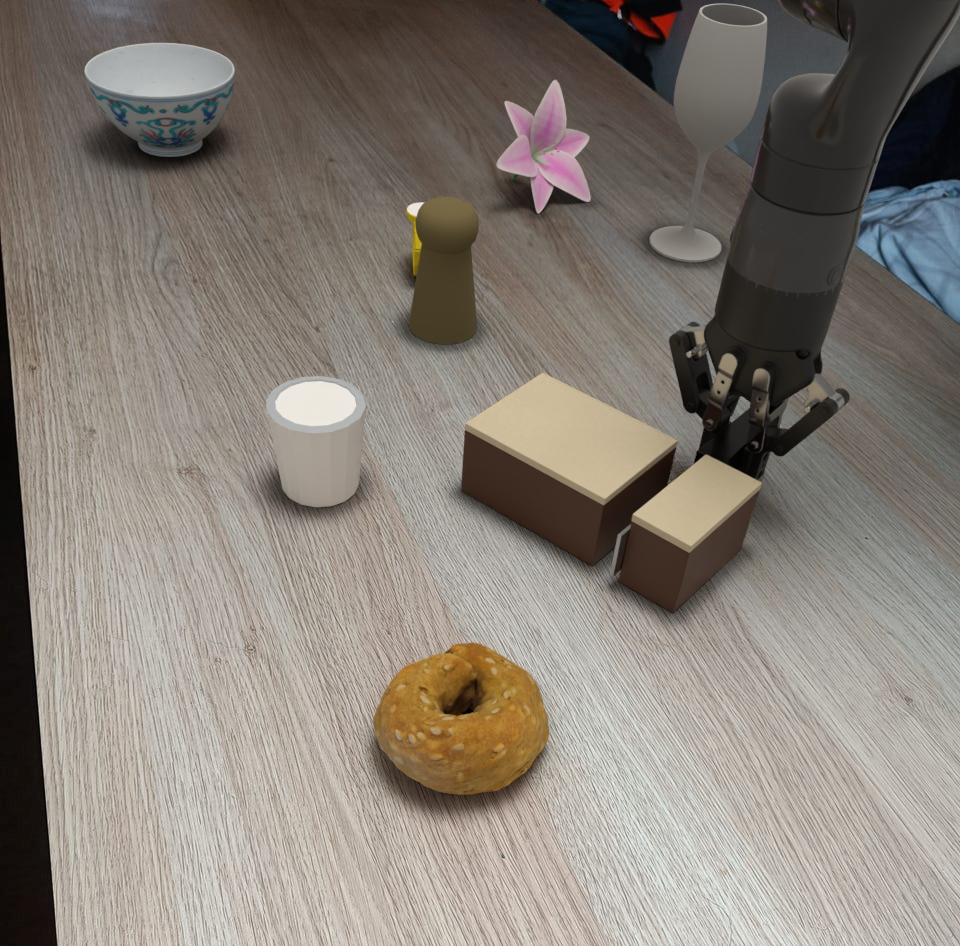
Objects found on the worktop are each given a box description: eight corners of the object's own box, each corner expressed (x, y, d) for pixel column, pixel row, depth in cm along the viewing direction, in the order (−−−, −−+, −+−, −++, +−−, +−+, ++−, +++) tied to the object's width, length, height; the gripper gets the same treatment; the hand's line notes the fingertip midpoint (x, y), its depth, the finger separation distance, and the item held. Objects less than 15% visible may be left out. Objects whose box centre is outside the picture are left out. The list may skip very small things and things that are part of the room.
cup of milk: (253, 479, 81) (244, 398, 76) (327, 443, 84) (323, 363, 79) (312, 525, 78) (307, 444, 72) (386, 486, 81) (386, 406, 76)
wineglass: (683, 220, 114) (729, -5, 99) (738, 250, 110) (795, 21, 95) (631, 239, 111) (671, 8, 95) (687, 270, 107) (737, 35, 92)
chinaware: (215, 182, 114) (206, 104, 108) (75, 163, 114) (59, 85, 109) (258, 126, 124) (252, 52, 118) (130, 109, 125) (118, 35, 119)
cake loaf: (534, 438, 86) (542, 372, 82) (662, 506, 81) (678, 439, 77) (460, 490, 81) (464, 422, 77) (592, 566, 76) (605, 498, 72)
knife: (739, 452, 86) (753, 404, 82) (764, 464, 85) (779, 416, 82) (597, 572, 75) (606, 522, 72) (623, 587, 74) (634, 538, 71)
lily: (472, 221, 113) (515, 154, 105) (462, 132, 117) (502, 61, 109) (572, 247, 119) (621, 185, 111) (559, 161, 123) (604, 96, 115)
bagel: (585, 730, 66) (596, 677, 63) (462, 841, 60) (466, 789, 57) (463, 644, 70) (467, 590, 67) (337, 740, 64) (334, 687, 61)
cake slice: (688, 520, 81) (705, 453, 76) (741, 549, 79) (762, 482, 74) (618, 581, 75) (632, 513, 71) (673, 613, 74) (691, 546, 69)
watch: (404, 254, 106) (405, 192, 101) (433, 254, 106) (435, 193, 102) (406, 285, 101) (407, 223, 97) (436, 286, 102) (438, 224, 97)
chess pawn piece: (400, 336, 95) (401, 213, 87) (419, 302, 99) (422, 182, 91) (467, 349, 95) (475, 226, 87) (484, 314, 99) (492, 194, 91)
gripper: (913, 278, 69) (832, 494, 82) (725, 204, 75) (676, 416, 88) (860, 322, 65) (783, 542, 78) (664, 239, 71) (622, 457, 83)
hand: (726, 474), depth 83 cm, fingers closed on knife, 2 cm apart
